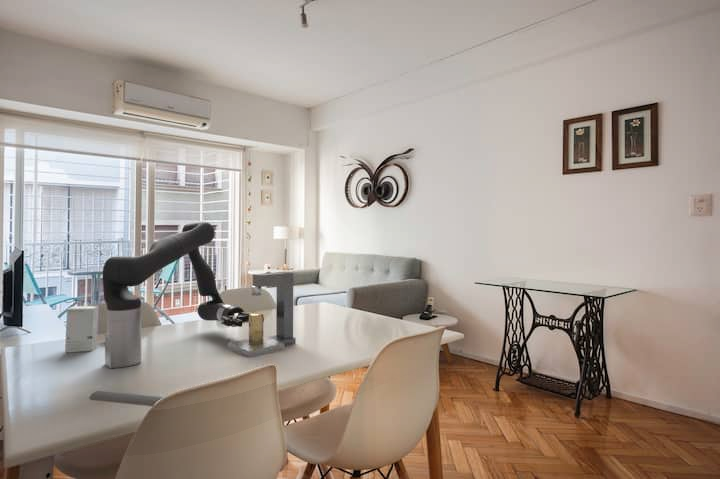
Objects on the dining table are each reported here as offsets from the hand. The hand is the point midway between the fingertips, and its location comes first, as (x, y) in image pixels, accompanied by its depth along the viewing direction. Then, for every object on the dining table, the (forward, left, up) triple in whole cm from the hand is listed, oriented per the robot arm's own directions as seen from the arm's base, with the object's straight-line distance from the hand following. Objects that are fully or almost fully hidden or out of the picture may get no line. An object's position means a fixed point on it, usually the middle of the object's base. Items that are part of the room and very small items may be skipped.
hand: (252, 322), depth 147 cm
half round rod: (-45, -20, -10) cm, 51 cm away
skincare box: (-44, +37, -9) cm, 58 cm away
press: (+4, 0, -9) cm, 10 cm away
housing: (0, -3, -7) cm, 7 cm away
